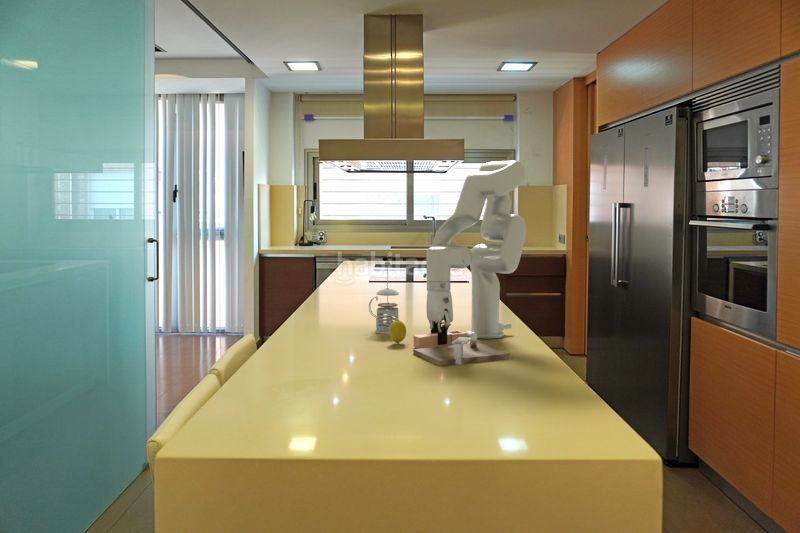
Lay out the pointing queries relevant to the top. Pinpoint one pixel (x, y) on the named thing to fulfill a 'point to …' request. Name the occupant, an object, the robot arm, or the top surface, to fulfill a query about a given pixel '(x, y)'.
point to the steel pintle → (473, 340)
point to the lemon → (397, 331)
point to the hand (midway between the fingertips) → (438, 342)
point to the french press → (385, 309)
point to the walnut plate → (470, 355)
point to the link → (436, 339)
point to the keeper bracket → (459, 349)
